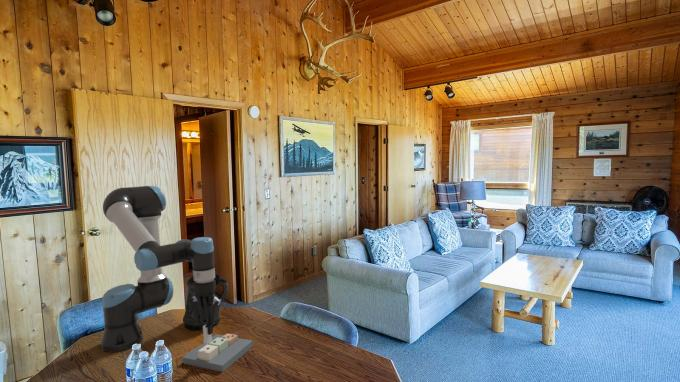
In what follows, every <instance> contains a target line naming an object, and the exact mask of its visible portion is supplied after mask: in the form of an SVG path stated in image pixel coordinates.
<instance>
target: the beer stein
mask: <svg viewBox="0 0 680 382" xmlns="http://www.w3.org/2000/svg"><path fill="white" fill-rule="evenodd" d="M214 279H215V283H216V286H218V285H220V286H222V289H223V290H222V292H221V293H220V295H219V296H218V297H217V298H218V299H222V302H223V301H224V300H225V298H226V296H227V294H228V292H229V284H228V280H226V279H225V278H224V277H220V274H219V273H218V272H216V271H215V278H214ZM186 285H187V287H188V290H187V295H186V297H187V299H186V307H185V311H184V315H183V317H182V323H183V327H184V328H183V329H185V330H187V331H190V332H202V326H201V324H200V323H199V324H198V323H197V322H196V318H195V314H194V310H193V306H192V303H191V302H190V298H191V297H193V296H195V292H194V280H193V275H192V276H190V277H189V278H188V279H187V281H186ZM213 303H214V301H213ZM213 305H214V304H213ZM212 308H213V307H212ZM199 319H200V318H199ZM220 321H221V311H220V310H219V314H218V320H217V323H216V324H214V325H213V328H215V327H217V326H218V325H219V324H220Z"/></svg>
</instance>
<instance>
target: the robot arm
mask: <svg viewBox="0 0 680 382" xmlns="http://www.w3.org/2000/svg"><path fill="white" fill-rule="evenodd" d="M166 206H167V200H166V195H165V194H164V191H162V189H161V188H160V187H158V186H157V185H144V186H143V185H141V186H140V185H139V186H131V187H126V186H125V187H118V188H115V189H113V190H111V192H109V193H108V194H107V195H106V197H105V198H104V199H103V202H102V212H103V214H104V216H105V218H106V219H107V220H108V221H109V222H111V223H114V225H115V227H116V228H117V229H118V230H119V232H120V233H121V235H122V236H123V237H124V238H125V240H126V241H127V242H128V244H129V246H131V247H132V249H133V250H134V256H133V257H134V258H133V260H134V264H135V267H136V268H137V270H138V271H140V276H139V278H138V279H137V280H136V283H137V285H134V284H132V283H126V284H120V285H117V286H114V287H112V288H109V289H108V290H106V291H105V292H104V294H103V295H102V310H103V323H104V324H103V325H104V331H103V333H102V334H103V335H102V338H101V341H100V349H101V348H102V349H103V350H105V351H104V352H106V351H116V352H121V351H120V350H122V351H125V350H124V349H126V350H128V349H127V348H129V349H131V348H132V347H131V346H132V345H133V344H135V343H139V344H141V342H142V341H143V340H144V334H143V333H144V332H143V331H142V328H141V327H140V325H139V323H138V317H137V316H138V315H139V314H141V313H145V312H147V311H151V310H154V309H159V308H161V307H163V306H165V305H168V304H169V303H170V302H171V301H172V300H173V298H174V297H173V296H174V284H173V281H172V280H171V279H170V278H169V277H168V276H167V274H165V273H164V272H163V267H167V266H172V265H176V264H182V263H184V262H190V263H191V264H192V276H193V280H194V292H195V296H193V297H191V298H190V302H191V303H192V306H193V310H194V314H195V318H196V322H197V323H198V324H199V323H200V324H201V326H202V331H201V333H202V334H203V343H204V344H208V343H210V342H211V341H212V337H213V333H214V327H213V325H214V324H216V323H217V320H218V314H219V311H220V307H221V303H222V302H223V301H222V299H218V298H219V297H217V294H216V288H217V285H216V283H215V279H214V278H215V272H216V271H215V270H216V268H215V247H214V241H213V238H212V237H208V236H201V237H195V238H193V239H179V240H177V241H176V242H174V243H168V244H163V245H161V239H160V227H159V219H160V218H161V217H162V212H164V211H165V209H166ZM213 301H214V303H213ZM213 304H214V305H213ZM212 307H213V308H212ZM199 318H200V319H199ZM142 339H143V340H142ZM102 349H101V350H102ZM103 350H102V351H103Z"/></svg>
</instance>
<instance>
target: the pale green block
mask: <svg viewBox="0 0 680 382" xmlns="http://www.w3.org/2000/svg"><path fill="white" fill-rule="evenodd" d="M209 345H212V346H218V353H221V352H223V351H224V350H225V349H227V348H228V339H224V338H219V337H217V338H216V339H214V340H213V341H211V342H210V343H209Z"/></svg>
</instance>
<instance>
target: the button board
mask: <svg viewBox="0 0 680 382" xmlns="http://www.w3.org/2000/svg"><path fill="white" fill-rule="evenodd" d="M223 336H224V335H223V334H217V333H215V334H214V335H212V341H213V340H214V339H216V338H217V337H219V338H221V337H223ZM206 345H209V343H208V344H204V342H203V343H201V344H199V345H198V346H196V347H195V348H193V349H192V350H191V351H190V352H188V353H186V354H185V355H183V356H182V358H181V359H182V364H183V363H184V365H189V366H193V367H198V368H202V369H207V370H211V371H216V372H220V373H224V371H226V370H227V369H228V368H230V367H231V366H232V365H233V364H234V363H235V362H237V361H238V360H239V359H240V358H242V356H244V355H245V354H246V353H247V352H248V351H249V350H250V349H252V348H253V347H254V341H253V340H252V339H251V340H250V339H245V338H240V337H238V340H237V341H236V342H234V343H233V344H232V345H230V346H229V345H228V348H227V349H225V350H224V351H223V352H221V353H218V356H216V357H215V358H214V359H212V360H211V361H210V362H209V361H204V360H199V359H198V351H199V350H200V349H201V348H203V347H204V346H206Z"/></svg>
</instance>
